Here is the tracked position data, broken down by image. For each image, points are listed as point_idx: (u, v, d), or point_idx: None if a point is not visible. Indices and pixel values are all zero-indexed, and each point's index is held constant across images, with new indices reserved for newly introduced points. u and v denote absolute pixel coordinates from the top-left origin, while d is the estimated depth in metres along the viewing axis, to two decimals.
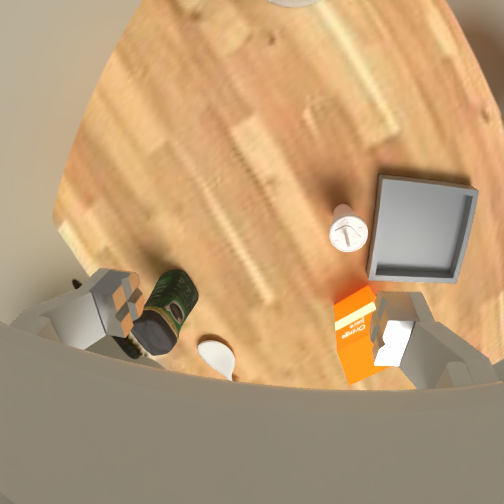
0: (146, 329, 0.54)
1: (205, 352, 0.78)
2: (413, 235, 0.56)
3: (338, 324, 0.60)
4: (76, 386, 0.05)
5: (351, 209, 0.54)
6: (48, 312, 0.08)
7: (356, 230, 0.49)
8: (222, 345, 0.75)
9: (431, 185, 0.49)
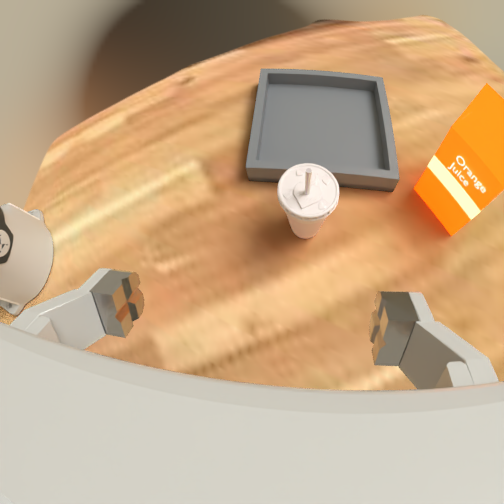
0: None
1: None
2: (330, 133, 0.43)
3: (471, 211, 0.31)
4: (76, 386, 0.05)
5: None
6: (48, 312, 0.08)
7: (301, 178, 0.32)
8: None
9: (255, 113, 0.43)
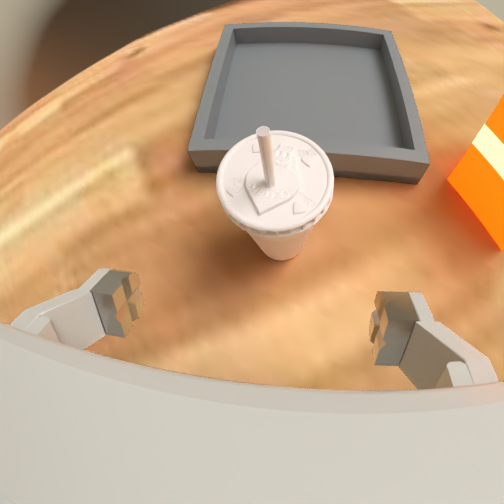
0: None
1: None
2: (321, 100, 0.28)
3: None
4: (76, 386, 0.05)
5: None
6: (48, 312, 0.08)
7: None
8: None
9: (210, 76, 0.28)
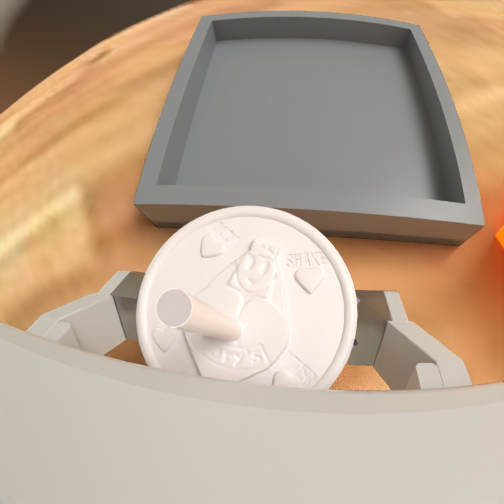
0: None
1: None
2: (329, 118, 0.20)
3: None
4: (76, 386, 0.05)
5: None
6: (67, 317, 0.08)
7: (218, 268, 0.09)
8: None
9: (174, 87, 0.20)
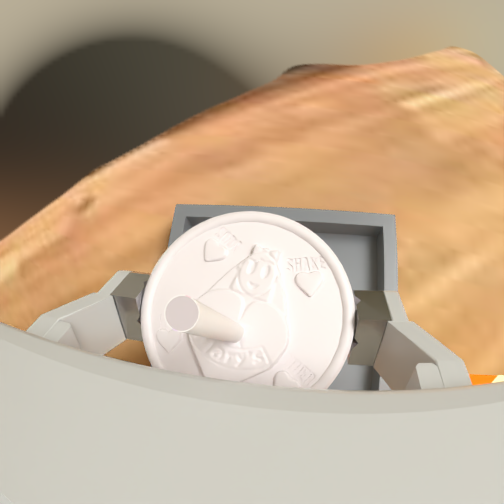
0: None
1: None
2: None
3: None
4: (76, 386, 0.05)
5: None
6: (67, 317, 0.08)
7: (220, 271, 0.09)
8: None
9: None
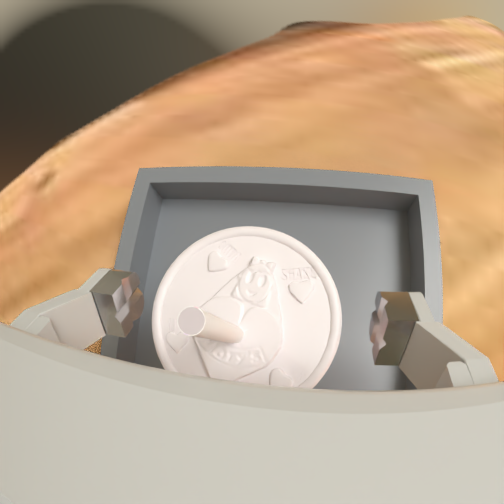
0: None
1: None
2: None
3: None
4: (76, 386, 0.05)
5: None
6: (48, 312, 0.08)
7: (222, 281, 0.10)
8: None
9: None
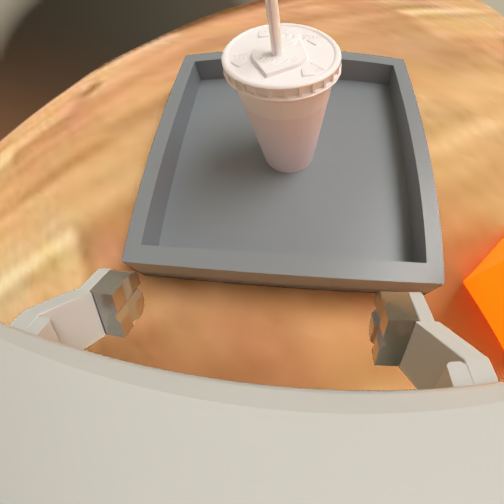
0: None
1: None
2: (304, 169, 0.22)
3: None
4: (76, 386, 0.05)
5: None
6: (48, 312, 0.08)
7: (267, 39, 0.15)
8: None
9: (156, 140, 0.22)
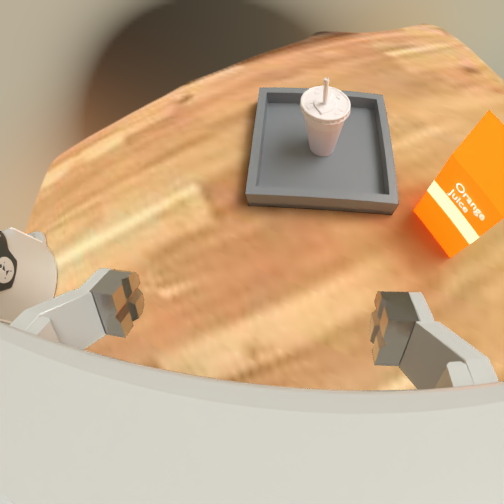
0: None
1: None
2: (330, 155, 0.44)
3: (470, 236, 0.32)
4: (76, 386, 0.05)
5: None
6: (48, 312, 0.08)
7: (319, 95, 0.36)
8: None
9: (254, 136, 0.44)
